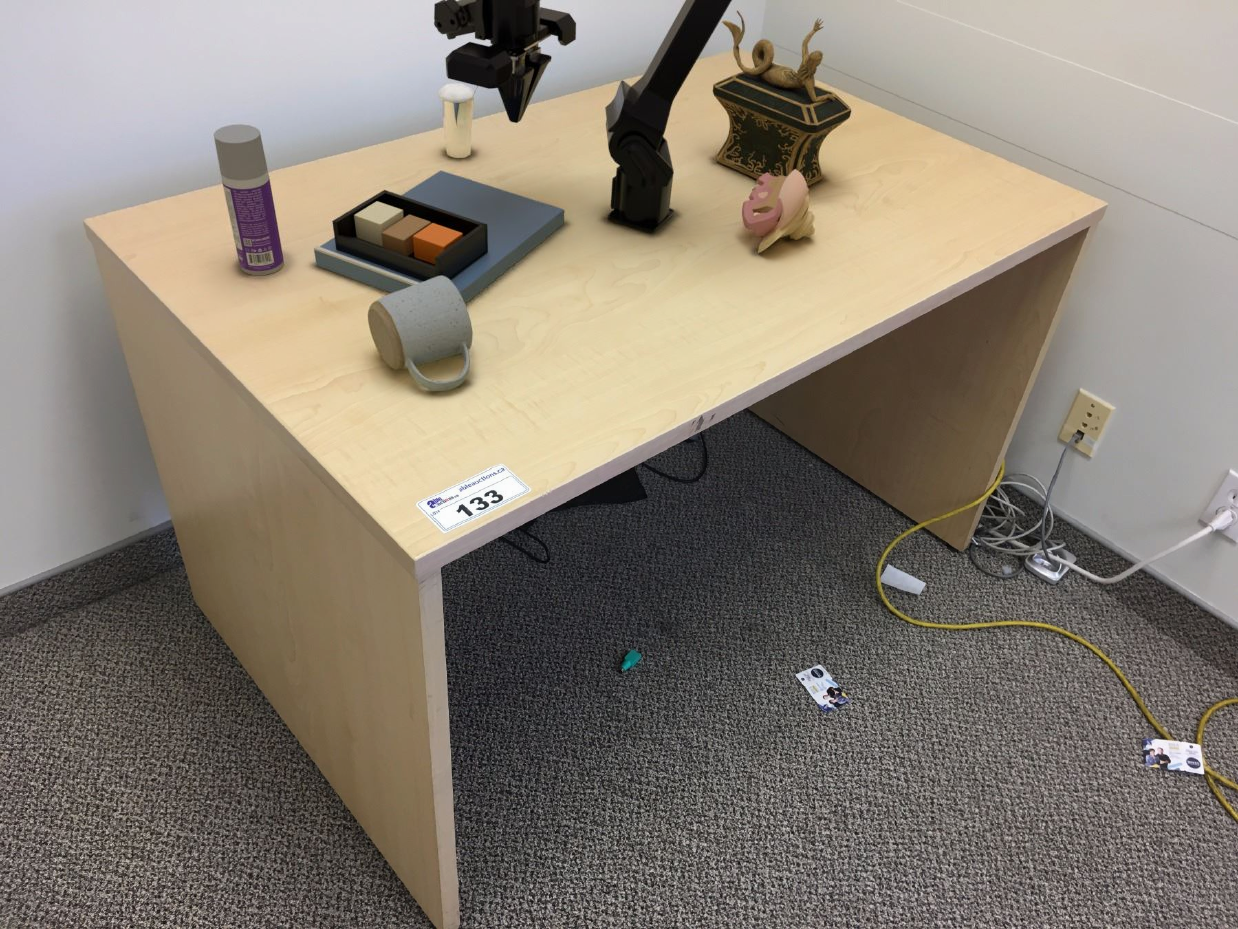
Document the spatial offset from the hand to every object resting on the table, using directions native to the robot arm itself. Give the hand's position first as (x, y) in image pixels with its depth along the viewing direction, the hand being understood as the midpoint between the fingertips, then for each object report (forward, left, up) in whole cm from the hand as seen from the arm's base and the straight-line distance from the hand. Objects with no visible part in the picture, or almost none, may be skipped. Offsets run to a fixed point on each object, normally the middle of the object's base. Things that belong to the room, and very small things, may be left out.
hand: (515, 121), depth 116 cm
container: (+17, +26, -12) cm, 33 cm away
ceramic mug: (-9, +31, -12) cm, 35 cm away
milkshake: (+15, -10, -12) cm, 21 cm away
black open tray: (+3, +17, -10) cm, 20 cm away
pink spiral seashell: (-29, -12, -12) cm, 34 cm away
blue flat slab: (+3, +11, -12) cm, 16 cm away
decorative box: (-20, -31, -12) cm, 39 cm away
